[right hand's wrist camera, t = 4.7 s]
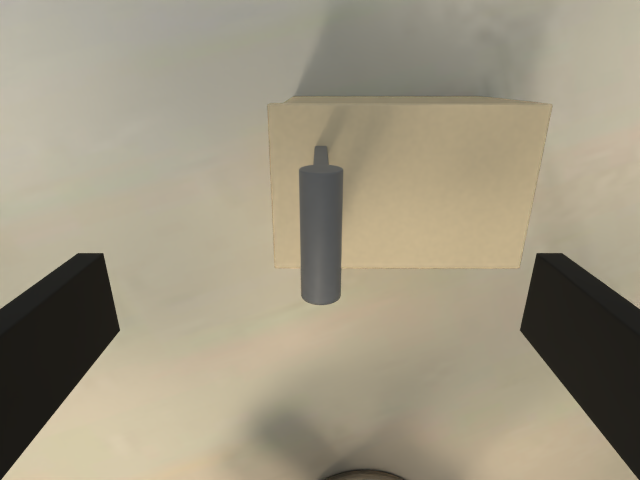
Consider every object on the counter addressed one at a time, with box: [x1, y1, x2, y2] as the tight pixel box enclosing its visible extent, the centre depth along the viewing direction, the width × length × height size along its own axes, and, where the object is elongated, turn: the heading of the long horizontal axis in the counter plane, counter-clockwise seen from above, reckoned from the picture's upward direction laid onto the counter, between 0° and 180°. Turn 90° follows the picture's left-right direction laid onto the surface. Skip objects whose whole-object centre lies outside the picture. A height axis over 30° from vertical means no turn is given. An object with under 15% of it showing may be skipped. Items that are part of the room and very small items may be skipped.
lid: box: [267, 103, 552, 305], centre depth 20 cm, size 15×10×9 cm, turn 90°
